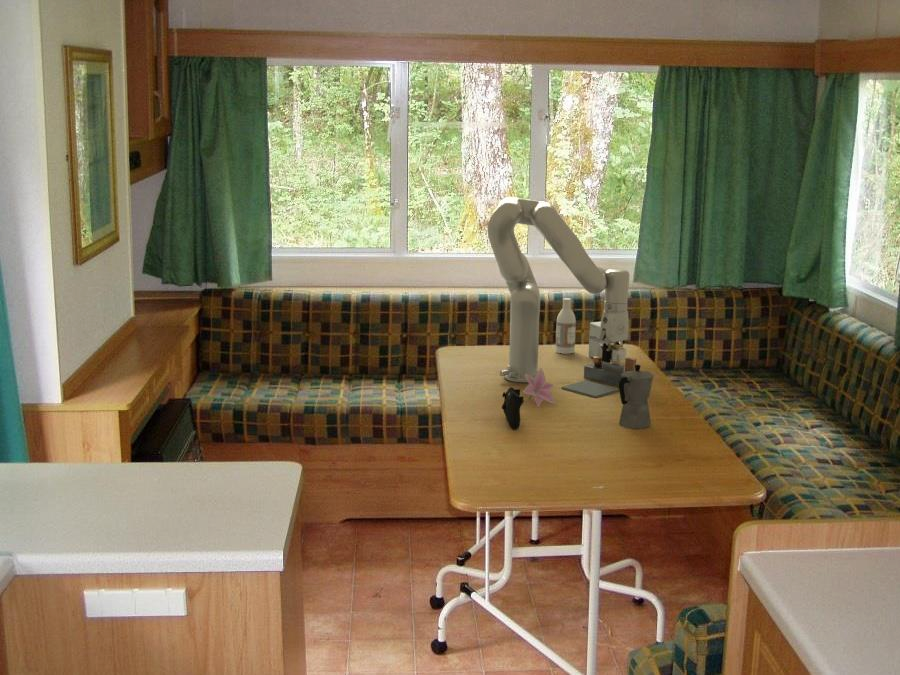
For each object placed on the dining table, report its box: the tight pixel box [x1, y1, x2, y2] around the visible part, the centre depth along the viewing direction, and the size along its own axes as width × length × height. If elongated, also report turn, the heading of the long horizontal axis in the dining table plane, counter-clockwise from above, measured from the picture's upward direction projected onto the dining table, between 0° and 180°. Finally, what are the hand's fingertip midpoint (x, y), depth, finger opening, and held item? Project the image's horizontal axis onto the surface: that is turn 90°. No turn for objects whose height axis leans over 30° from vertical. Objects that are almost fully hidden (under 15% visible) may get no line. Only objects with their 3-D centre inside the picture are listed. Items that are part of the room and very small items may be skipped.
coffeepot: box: [618, 364, 654, 430], centre depth 324 cm, size 15×9×18 cm, turn 138°
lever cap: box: [597, 343, 627, 362], centre depth 370 cm, size 5×8×5 cm, turn 44°
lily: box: [522, 367, 556, 408], centre depth 346 cm, size 12×12×10 cm
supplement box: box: [588, 321, 614, 359], centre depth 401 cm, size 7×7×13 cm
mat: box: [561, 379, 620, 399], centre depth 362 cm, size 12×14×1 cm
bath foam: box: [555, 297, 577, 355], centre depth 408 cm, size 7×7×20 cm
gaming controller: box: [501, 387, 525, 430], centre depth 325 cm, size 14×6×10 cm, turn 4°
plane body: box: [583, 356, 637, 388], centre depth 371 cm, size 8×18×9 cm, turn 44°
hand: (611, 360), depth 371 cm, fingers closed on lever cap, 4 cm apart
